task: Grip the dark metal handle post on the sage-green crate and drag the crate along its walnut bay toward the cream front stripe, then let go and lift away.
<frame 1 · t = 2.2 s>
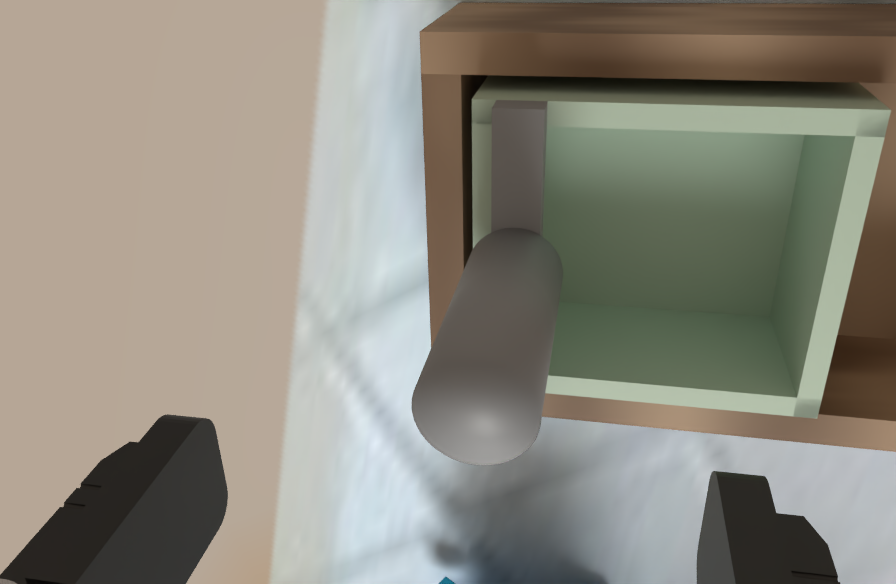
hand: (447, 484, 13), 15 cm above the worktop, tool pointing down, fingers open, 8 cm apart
crate: (654, 283, 19), point 7 cm above the worktop, slide at 0.0 cm
bay: (785, 191, 24), on the worktop
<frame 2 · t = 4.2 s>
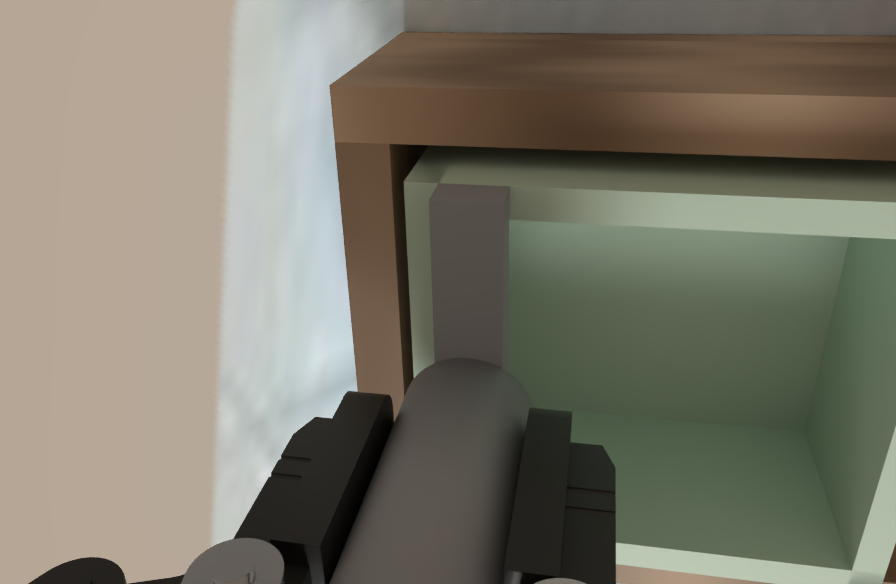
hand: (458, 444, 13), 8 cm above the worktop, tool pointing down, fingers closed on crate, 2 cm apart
crate: (661, 435, 14), point 7 cm above the worktop, slide at 0.0 cm, touching gripper
bay: (822, 271, 19), on the worktop
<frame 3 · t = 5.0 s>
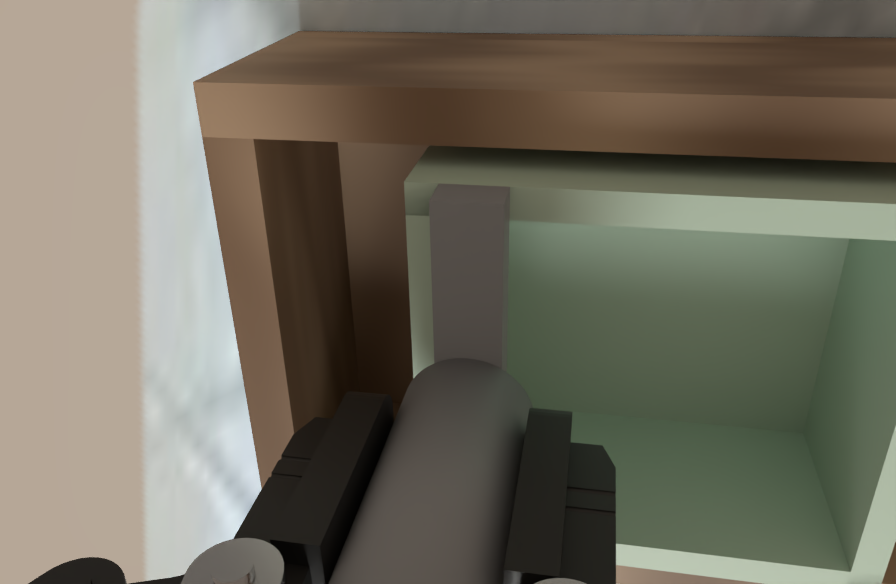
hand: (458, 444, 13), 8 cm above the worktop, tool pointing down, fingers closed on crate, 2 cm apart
crate: (661, 436, 14), point 7 cm above the worktop, slide at 2.6 cm, touching gripper
bay: (712, 265, 19), on the worktop
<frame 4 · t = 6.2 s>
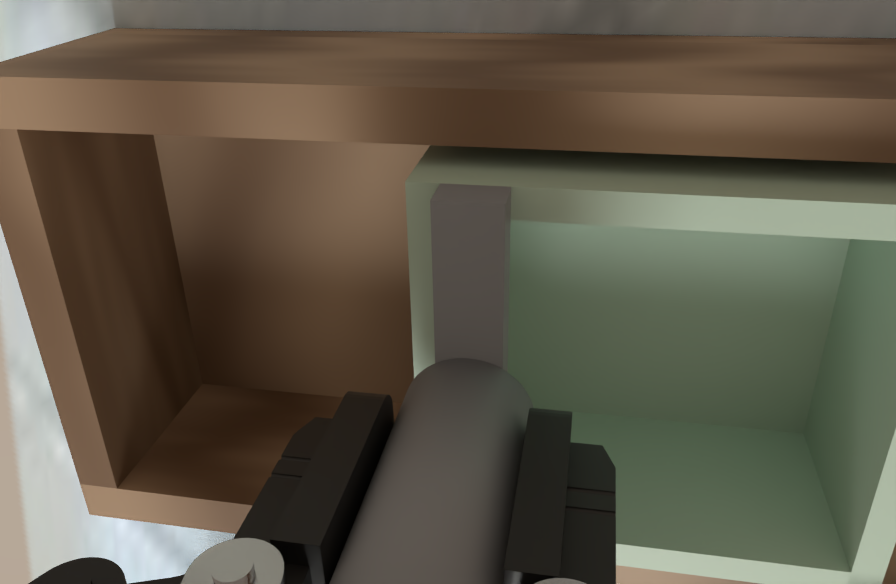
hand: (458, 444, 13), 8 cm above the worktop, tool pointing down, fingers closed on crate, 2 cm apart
crate: (662, 436, 14), point 7 cm above the worktop, slide at 7.5 cm, touching gripper
bay: (517, 254, 20), on the worktop
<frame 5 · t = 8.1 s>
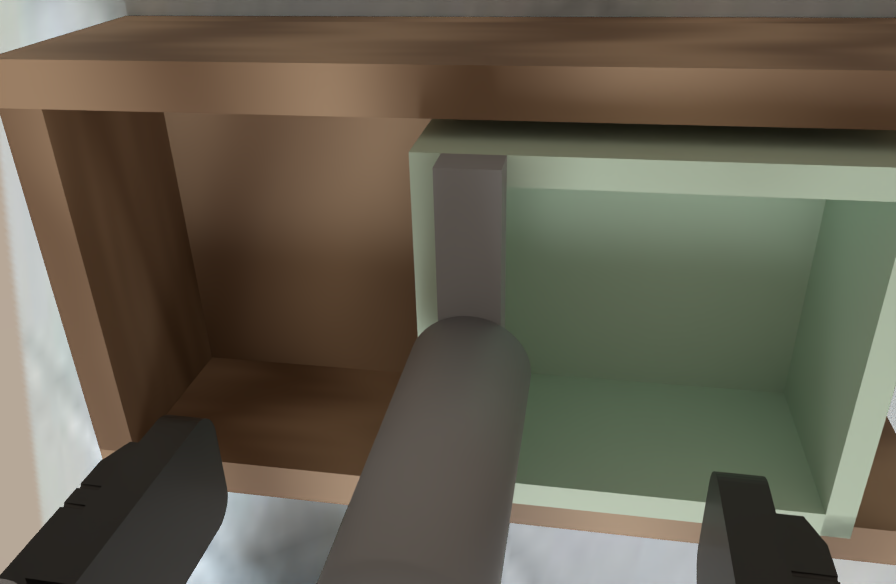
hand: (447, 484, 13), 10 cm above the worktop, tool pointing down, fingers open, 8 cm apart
crate: (648, 386, 15), point 7 cm above the worktop, slide at 7.5 cm
bay: (512, 227, 21), on the worktop
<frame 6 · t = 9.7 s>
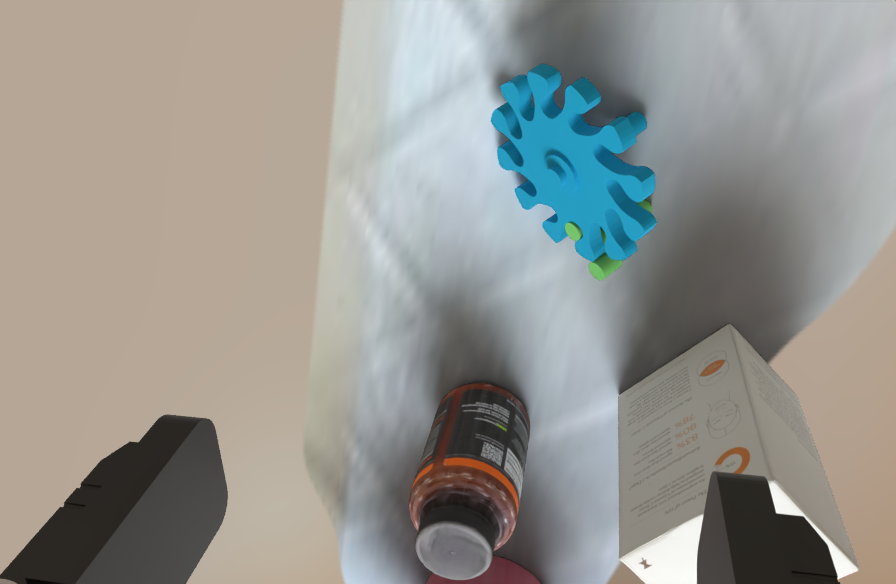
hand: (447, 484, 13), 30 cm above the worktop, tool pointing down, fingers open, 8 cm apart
supplement bottle: (485, 416, 49), on the worktop
gear: (577, 152, 40), on the worktop
small box: (705, 393, 45), on the worktop
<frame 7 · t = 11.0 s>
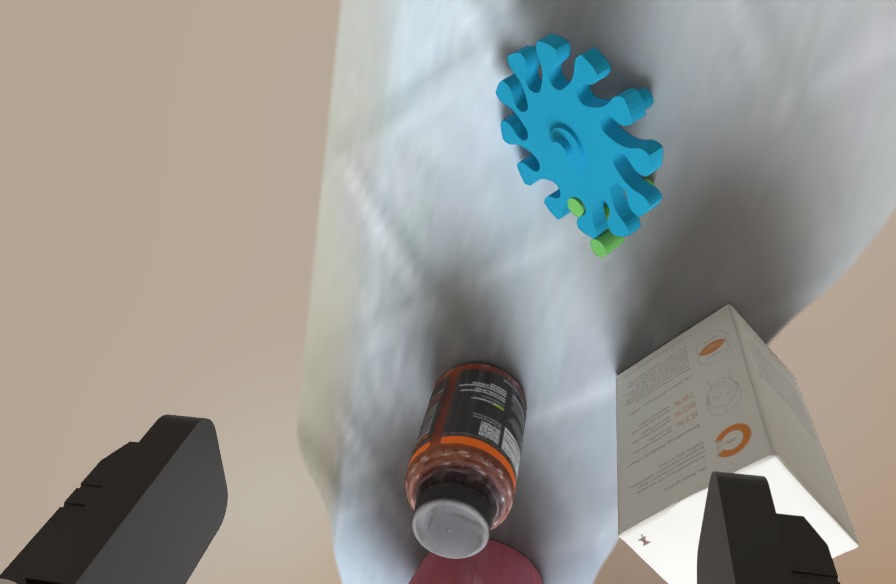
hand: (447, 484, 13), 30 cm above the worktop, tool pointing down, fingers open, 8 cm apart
plant pot: (482, 579, 56), on the worktop
supplement bottle: (481, 397, 49), on the worktop
gear: (581, 128, 40), on the worktop
small box: (703, 374, 45), on the worktop
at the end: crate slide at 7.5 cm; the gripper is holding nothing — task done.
